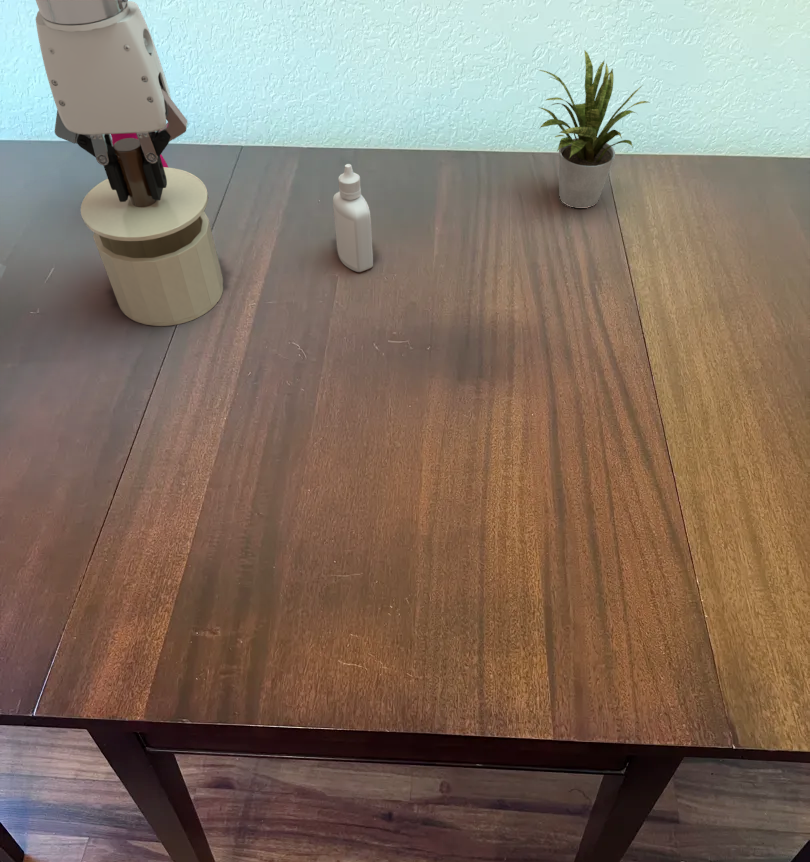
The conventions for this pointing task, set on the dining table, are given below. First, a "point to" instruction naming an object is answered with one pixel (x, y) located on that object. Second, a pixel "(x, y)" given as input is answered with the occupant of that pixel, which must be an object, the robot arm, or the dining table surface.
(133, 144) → the lid
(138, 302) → the pot
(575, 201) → the house plant
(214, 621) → the dining table surface
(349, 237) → the eye dropper bottle
